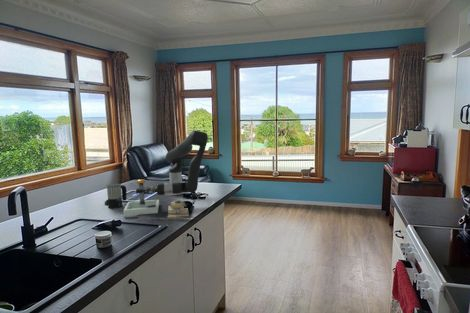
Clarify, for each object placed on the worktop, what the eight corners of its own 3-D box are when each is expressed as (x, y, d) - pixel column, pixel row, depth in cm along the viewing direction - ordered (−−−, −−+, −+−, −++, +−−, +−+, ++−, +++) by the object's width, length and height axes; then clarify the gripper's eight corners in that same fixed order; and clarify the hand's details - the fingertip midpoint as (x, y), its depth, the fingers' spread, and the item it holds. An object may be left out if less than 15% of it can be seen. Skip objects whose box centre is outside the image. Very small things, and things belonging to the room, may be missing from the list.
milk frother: (117, 209, 202) (115, 186, 200) (95, 208, 205) (94, 186, 204) (129, 203, 216) (127, 182, 214) (108, 202, 219) (107, 181, 217)
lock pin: (140, 203, 197) (138, 179, 195) (147, 203, 197) (145, 179, 195) (137, 205, 192) (135, 180, 191) (144, 205, 192) (143, 180, 190)
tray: (128, 208, 203) (128, 201, 202) (159, 206, 206) (158, 199, 206) (123, 217, 184) (123, 210, 183) (157, 214, 188) (157, 207, 187)
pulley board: (168, 207, 203) (167, 193, 202) (187, 206, 205) (186, 192, 204) (167, 219, 179) (167, 204, 178) (188, 217, 181) (188, 202, 180)
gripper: (165, 180, 203) (137, 182, 199) (164, 185, 189) (134, 187, 186) (165, 192, 203) (138, 194, 200) (165, 197, 190) (135, 199, 187)
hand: (136, 190), depth 193 cm, fingers closed on lock pin, 3 cm apart
